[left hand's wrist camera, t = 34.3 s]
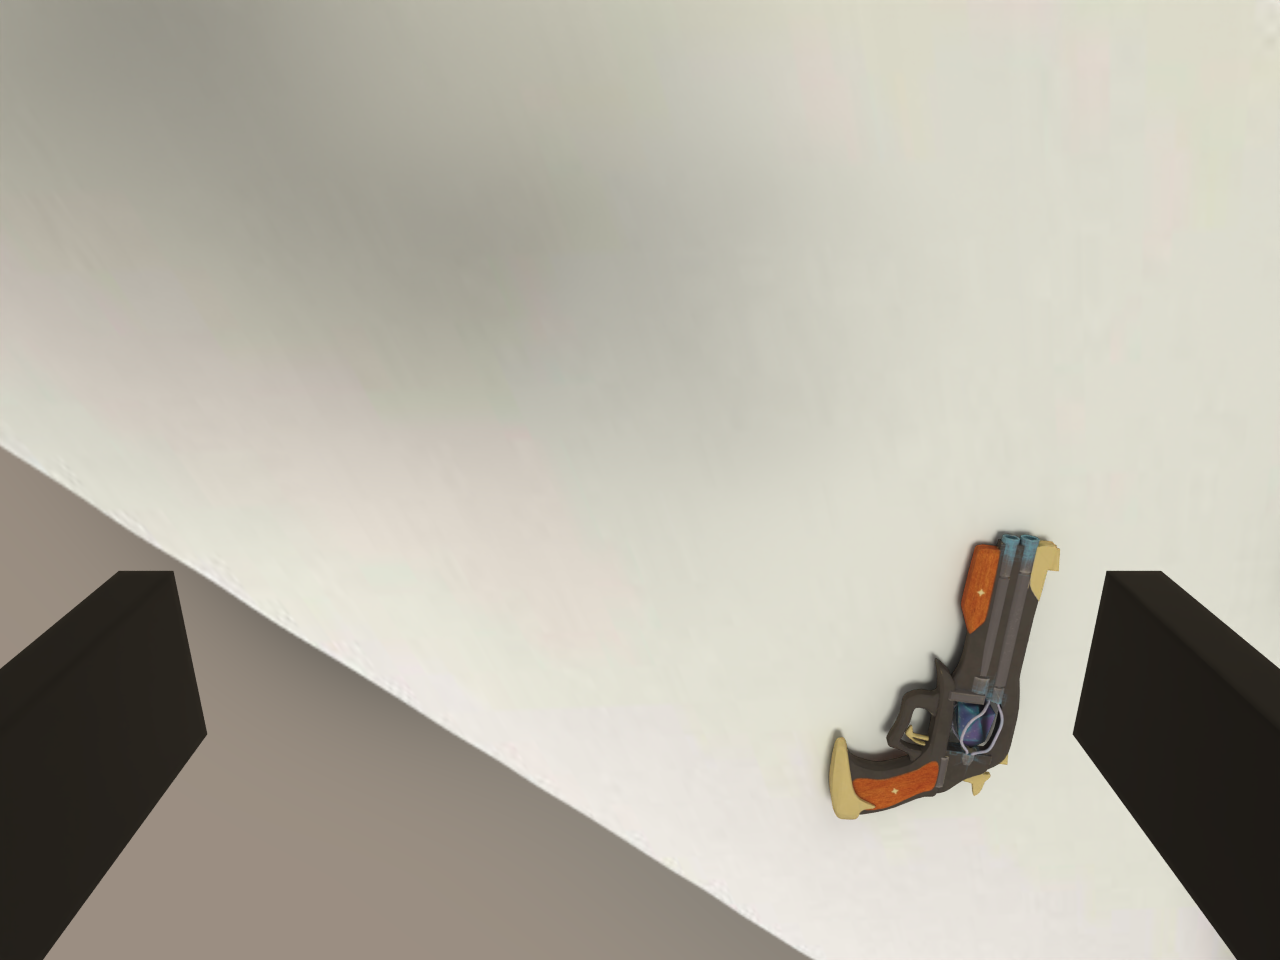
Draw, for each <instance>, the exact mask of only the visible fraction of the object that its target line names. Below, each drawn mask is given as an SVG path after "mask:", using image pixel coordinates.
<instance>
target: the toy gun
mask: <svg viewBox="0 0 1280 960" xmlns="http://www.w3.org/2000/svg"><path fill="white" fill-rule="evenodd" d="M1059 556H1060V549H1059V548H1057V546H1056V545H1055V544H1054V543H1053V542H1051V541H1040V539H1039V538H1037V537H1035V536H1031V535H1021V536H1020V538H1019V537H1017V536H1014V535H1010V534H1004V535H1003V536H1002V539H998V544H997V546H993V545H984V544H981V545H977V546H976V547H975V549H974V553H973V557H972V561H971V564H970V568H969V572H968V576H967V580H966V584H965V588H964V592H963V596H962V600H961V607H962V611H963V615H964V619H965V623H966V627H967V635H966V639H965V644H964V648H963V652H962V656H961V659H960V661H959V663H958V665H957V667H956V669H955V670H954V672H953V673H952V674H950V672H949V670H948V669H947V667H946V666H945V665H944V664H943V663H942V662H941V661H940V660H938V659H937V658H936V659H935V663H936V669H937V688H936V689H934V690H931V691H930V690H924V689H916V690H912V691H910V692H907V693H906V694H905V695H904V696H903V699H902V704H901V708H900V712H899V715H898V717H897V719H896V721H895V723H894V725H893V726H892V728H891V730H890V731H889V733H888V735H887V737H886V739H887V742H888V745H889V746H890V747H893V748H896V749H899V750H902V751H904V752H906V753H908V755H906V756H903V757H900V758H895V759H891V760H886V761H881V762H874V761H869V760H865V759H862V758H859V757H856V756H854V755H852V754H851V753H850V752H849V751H848V750H847V744H846V741H845V739H844V738H843V737H840V738H837V740H836V741H835V744H834V749H833V753H832V759H831V765H830V773H829V784H830V793H831V799H832V806H833V810H834V812H835V814H836V816H837V817H838V818H840V819H856V818H857V817H858V816H859V815H860V814H868V813H874V812H879V811H883V810H887V809H891V808H894V807H897V806H899V805H902V804H904V803H907V802H909V801H912V800H915V799H917V798H921V797H933V796H935V795H936V793H941V792H945V791H947V790H949V789H950V788H952V787H953V786H955V785H956V784H958V783H959V782H961V781H965V782H970V783H971V784H972V792H973V795H974V796H975V795H977V794H978V793H979V792H980V791H981V789H982V787H983V785H984V782H985V781H986V780H988V779H989V778H990V773H989V772H986V771H987V769H990V768H992V767H994V766H996V765H998V764H1005V765H1007V761H1008V752H1009V749H1010V746H1011V742H1012V738H1013V734H1014V730H1015V725H1016V721H1017V716H1018V710H1019V698H1020V682H1019V679H1020V673H1021V669H1022V664H1023V660H1024V656H1025V652H1026V648H1027V643H1028V639H1029V635H1030V631H1031V627H1032V623H1033V618H1034V615H1035V611H1036V608H1037V604H1038V601H1039V600H1040V596H1041V593H1042V589H1043V585H1044V581H1045V578H1046V574H1047V570H1052V571H1059ZM987 699H988V700H987ZM954 701H958V703H956V704H955V705H954ZM990 701H992V702H994V703H997V707H998V715H997V719H996V723H995V728H994V730H993V733H992V735H991V737H990V739H989V741H988V742H987V743H986V744H985V745H984V746H978V745H979V744H981V743H983V742H985V740H986V738H987V735H988V733H989V731H990V728H991V726H992V723H993V721H994V718H995V715H996V714H995V712H994V711H993V709H992V707H991V705H990ZM915 708H924V709H926V710H928V711H929V712H930V713H931V714H932V715H931V720H930V725H929V729H928V734H927V736H925V735H920V734H915V733H913V729H912V725H910V726H909V727H908V725H909V723H910V720H911V717H912V714H913V711H914V709H915ZM955 708H956V710H955V713H956V721H957V730H958V734H957V733H956V731H955V729H954V725H953V713H954V709H955ZM907 727H908V728H907ZM951 727H952V730H953V733H954V734H955V736H956V737H957V738H958V739H959V741H960V742H959V743H956V742H949V741H948V740H949V736H950V731H951ZM906 728H907V729H906ZM905 730H906V731H905ZM904 732H905V734H906V735H907V736H908V737H909V738H910V739H911V740H912V741H914V742H915V743H918V744H920V745H915V744H910V743H907V742H905V741H903V740H902V739H901V738H902V736H903V734H904ZM913 737H915V738H918V739H923V740H924V742H923V741H919V740H916V739H914V738H913Z"/></svg>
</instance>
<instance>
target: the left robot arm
mask: <svg viewBox="0 0 1280 960" xmlns="http://www.w3.org/2000/svg"><path fill="white" fill-rule="evenodd" d="M206 735H207V731H206V726H205V721H204V716H203V711H202V707H201V702H200V697H199V692H198V687H197V682H196V678H195V673H194V668H193V663H192V658H191V653H190V649H189V644H188V639H187V634H186V629H185V625H184V620H183V615H182V610H181V605H180V600H179V596H178V591H177V586H176V581H175V576H174V572H173V571H118V572H117V573H116V574H115V575H113V576H112V577H111V578H110V579H109V580H107V581H106V582H105V583H104V584H103V585H101V586H100V587H99V588H98V589H96V590H95V591H94V592H93V593H92V594H90V595H89V596H88V597H87V598H86V599H84V600H83V601H82V602H81V603H80V604H78V605H77V606H76V607H75V608H74V609H72V610H71V611H70V612H69V613H67V614H66V615H65V616H64V617H63V618H61V619H60V620H59V621H58V622H57V623H55V624H54V625H53V626H52V627H50V628H49V629H48V630H47V631H46V632H45V633H43V634H42V635H41V636H40V637H38V638H37V639H36V640H35V641H34V642H32V643H31V644H30V645H29V646H27V647H26V648H25V649H24V650H23V651H21V652H20V653H19V654H18V655H17V656H15V657H14V658H13V659H12V660H11V661H9V662H8V663H7V664H6V665H4V666H3V667H2V668H1V669H0V960H43V959H44V958H45V956H46V955H47V953H48V952H49V951H50V949H51V948H52V947H53V945H54V944H55V942H56V941H57V940H58V938H59V937H60V936H61V934H62V933H63V931H64V930H65V929H66V927H67V926H68V925H69V923H70V922H71V920H72V919H73V918H74V916H75V915H76V914H77V912H78V911H79V909H80V908H81V907H82V905H83V904H84V903H85V901H86V900H87V899H88V897H89V896H90V894H91V893H92V892H93V890H94V889H95V888H96V886H97V885H98V883H99V882H100V881H101V879H102V878H103V876H104V875H105V874H106V872H107V871H108V870H109V868H110V867H111V866H112V864H113V863H114V862H115V860H116V859H117V857H118V856H119V855H120V853H121V852H122V851H123V849H124V848H125V846H126V845H127V844H128V842H129V841H130V840H131V838H132V837H133V835H134V834H135V833H136V831H137V830H138V829H139V827H140V826H141V824H142V823H143V822H144V820H145V819H146V818H147V816H148V815H149V813H150V812H151V811H152V809H153V808H154V807H155V805H156V804H157V802H158V801H159V800H160V798H161V797H162V796H163V794H164V793H165V792H166V790H167V789H168V787H169V786H170V785H171V783H172V782H173V780H174V779H175V778H176V776H177V775H178V774H179V772H180V771H181V770H182V768H183V767H184V765H185V764H186V763H187V761H188V760H189V759H190V757H191V756H192V754H193V753H194V752H195V750H196V749H197V748H198V746H199V745H200V744H201V742H202V741H203V739H204V738H205V737H206ZM1073 735H1074V737H1075V738H1076V739H1077V741H1078V742H1079V744H1080V745H1081V746H1082V748H1083V749H1084V750H1085V752H1086V753H1087V754H1088V756H1089V757H1090V759H1091V760H1092V761H1093V763H1094V764H1095V765H1096V767H1097V768H1098V770H1099V771H1100V772H1101V774H1102V775H1103V776H1104V778H1105V779H1106V781H1107V782H1108V783H1109V785H1110V786H1111V787H1112V789H1113V790H1114V792H1115V793H1116V794H1117V796H1118V797H1119V798H1120V800H1121V801H1122V803H1123V804H1124V805H1125V807H1126V808H1127V809H1128V811H1129V812H1130V813H1131V815H1132V816H1133V818H1134V819H1135V820H1136V822H1137V823H1138V824H1139V826H1140V827H1141V829H1142V830H1143V831H1144V833H1145V834H1146V835H1147V837H1148V838H1149V840H1150V841H1151V842H1152V844H1153V845H1154V846H1155V848H1156V849H1157V851H1158V852H1159V853H1160V855H1161V856H1162V857H1163V859H1164V860H1165V862H1166V863H1167V864H1168V866H1169V867H1170V868H1171V870H1172V871H1173V872H1174V874H1175V875H1176V877H1177V878H1178V879H1179V881H1180V882H1181V883H1182V885H1183V886H1184V888H1185V889H1186V890H1187V892H1188V893H1189V894H1190V896H1191V897H1192V899H1193V900H1194V901H1195V903H1196V904H1197V905H1198V907H1199V908H1200V910H1201V911H1202V912H1203V914H1204V915H1205V916H1206V918H1207V919H1208V921H1209V922H1210V923H1211V925H1212V926H1213V927H1214V929H1215V930H1216V931H1217V933H1218V934H1219V936H1220V937H1221V938H1222V940H1223V941H1224V942H1225V944H1226V945H1227V947H1228V948H1229V949H1230V951H1231V952H1232V953H1233V955H1234V956H1235V958H1236V959H1237V960H1280V669H1279V668H1278V667H1277V666H1276V665H1274V664H1273V663H1272V662H1271V661H1269V660H1268V659H1267V658H1266V657H1265V656H1263V655H1262V654H1261V653H1260V652H1259V651H1257V650H1256V649H1255V648H1254V647H1253V646H1251V645H1250V644H1249V643H1248V642H1246V641H1245V640H1244V639H1243V638H1242V637H1240V636H1239V635H1238V634H1237V633H1236V632H1234V631H1233V630H1232V629H1231V628H1230V627H1228V626H1227V625H1226V624H1225V623H1223V622H1222V621H1221V620H1220V619H1219V618H1217V617H1216V616H1215V615H1214V614H1213V613H1211V612H1210V611H1209V610H1208V609H1207V608H1205V607H1204V606H1203V605H1202V604H1200V603H1199V602H1198V601H1197V600H1196V599H1194V598H1193V597H1192V596H1191V595H1190V594H1188V593H1187V592H1186V591H1185V590H1184V589H1182V588H1181V587H1180V586H1179V585H1177V584H1176V583H1175V582H1174V581H1173V580H1171V579H1170V578H1169V577H1168V576H1167V575H1165V574H1164V573H1163V572H1162V571H1106V576H1105V581H1104V586H1103V591H1102V596H1101V600H1100V605H1099V610H1098V615H1097V620H1096V625H1095V629H1094V634H1093V639H1092V644H1091V649H1090V653H1089V658H1088V663H1087V668H1086V673H1085V678H1084V682H1083V687H1082V692H1081V697H1080V702H1079V706H1078V711H1077V716H1076V721H1075V726H1074V731H1073Z"/></svg>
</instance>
